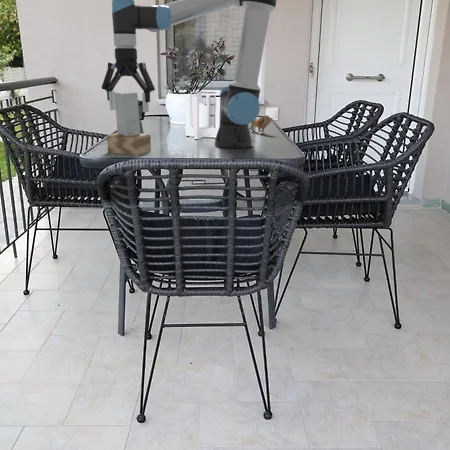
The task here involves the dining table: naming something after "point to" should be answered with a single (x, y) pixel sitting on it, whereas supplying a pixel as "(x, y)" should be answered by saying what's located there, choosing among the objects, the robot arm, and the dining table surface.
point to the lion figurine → (260, 123)
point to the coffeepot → (141, 115)
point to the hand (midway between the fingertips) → (129, 111)
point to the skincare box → (127, 113)
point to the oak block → (129, 144)
